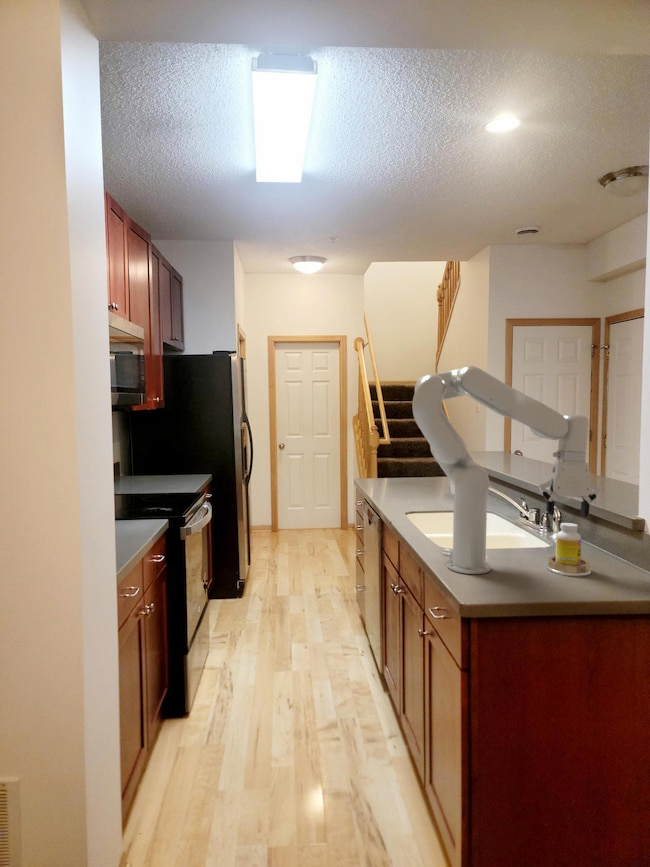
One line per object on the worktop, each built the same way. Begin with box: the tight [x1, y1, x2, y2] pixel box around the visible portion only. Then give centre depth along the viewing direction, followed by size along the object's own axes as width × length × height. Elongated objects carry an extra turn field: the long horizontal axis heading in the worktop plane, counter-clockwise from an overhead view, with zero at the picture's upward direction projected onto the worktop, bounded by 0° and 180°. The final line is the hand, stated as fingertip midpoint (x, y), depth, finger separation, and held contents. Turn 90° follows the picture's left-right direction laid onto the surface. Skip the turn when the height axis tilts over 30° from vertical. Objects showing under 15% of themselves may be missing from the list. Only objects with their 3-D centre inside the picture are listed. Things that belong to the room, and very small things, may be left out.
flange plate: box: [546, 555, 592, 578], centre depth 162 cm, size 12×12×3 cm
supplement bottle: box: [555, 522, 582, 566], centre depth 161 cm, size 7×7×13 cm
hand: (567, 515), depth 161 cm, fingers open, 9 cm apart
